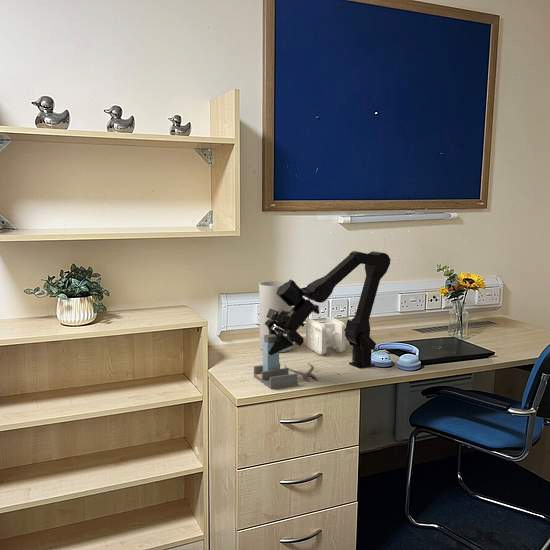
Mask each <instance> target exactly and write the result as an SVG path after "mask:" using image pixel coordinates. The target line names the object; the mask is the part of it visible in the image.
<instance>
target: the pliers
mask: <svg viewBox="0 0 550 550" xmlns="http://www.w3.org/2000/svg"><path fill="white" fill-rule="evenodd" d="M307 365H308V366H310V369H308V371H307V372H301V371H300V370H299V371H298V370H295V369H292V368H289V367H287V365H286V364H284V366H283V367H284V368H288V369H289V372H293V373H294V374H295V373H297V374H299V375H300V376H301V377H302V379H303V380H304V381H306V382H308V383H309V382H310V379H309V378H311V379H312V380H314V381H316V382H318V378H317V376H316V375H315V374H313V373H312V371H313V369H314V366H313V365H312V364H311V363H309V362H308V363H307Z"/></svg>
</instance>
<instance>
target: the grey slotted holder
mask: <svg viewBox="0 0 550 550" xmlns="http://www.w3.org/2000/svg"><path fill="white" fill-rule="evenodd" d="M288 368H289V367H287V368H285V367H284V368H281V363H280V362H279V369H276V370H269V371H263V364H260V365H254V366H253V378H255V379H256V380H257V381H259V382H260V381H261V382H260V383H262V384H263V383H264V384H263V385H265V386H266V387H267V386H268V387H267V388H269V389H270V388H271V389H270V390H273V389H272V388H274V389H279V388H278V387H281V388H286V386H288V387H294V386H298V384H299V383H298V381H299V380H298V373H295V372H294V373H290V371H289V369H290V368H289V369H288Z"/></svg>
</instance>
